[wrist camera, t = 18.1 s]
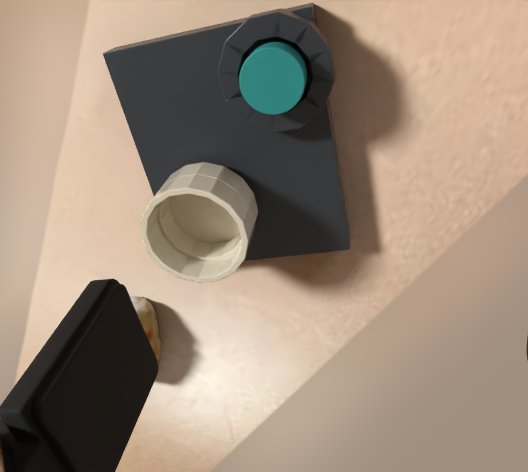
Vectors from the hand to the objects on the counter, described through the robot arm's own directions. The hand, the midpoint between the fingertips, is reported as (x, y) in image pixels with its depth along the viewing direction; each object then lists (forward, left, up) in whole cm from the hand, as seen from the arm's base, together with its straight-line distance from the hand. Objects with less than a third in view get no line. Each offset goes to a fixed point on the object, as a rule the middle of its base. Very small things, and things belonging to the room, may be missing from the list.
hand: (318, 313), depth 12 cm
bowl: (+7, -10, -21) cm, 24 cm away
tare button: (-1, -3, -20) cm, 20 cm away
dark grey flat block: (+4, -7, -23) cm, 24 cm away
